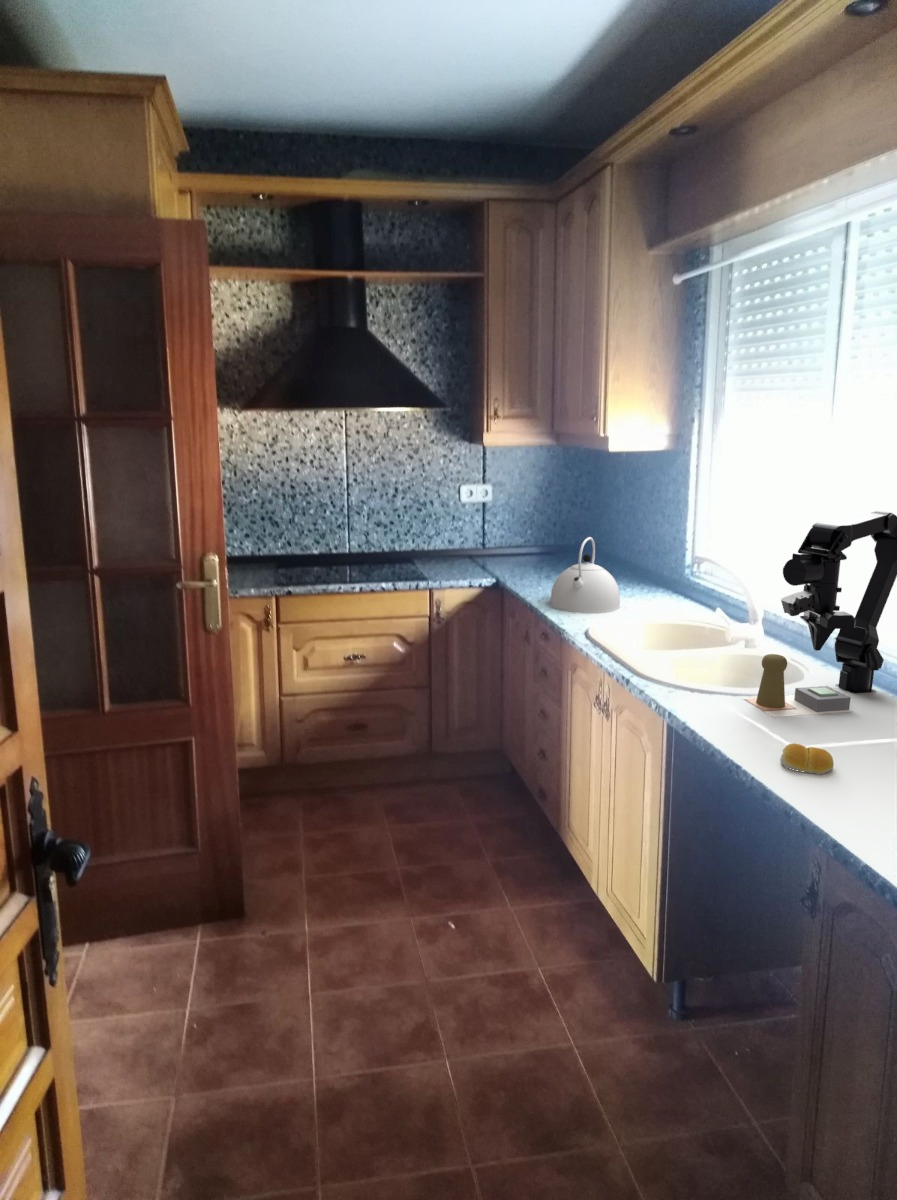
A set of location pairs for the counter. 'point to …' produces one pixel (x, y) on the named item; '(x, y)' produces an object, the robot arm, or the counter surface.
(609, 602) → the kettle
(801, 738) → the counter surface
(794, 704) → the picture board
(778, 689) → the cork
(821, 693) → the button
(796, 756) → the bread roll
